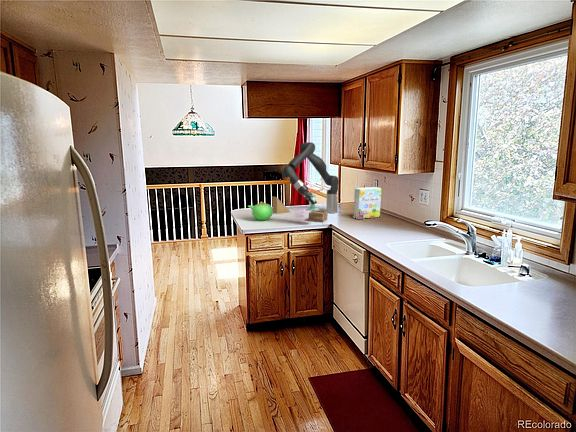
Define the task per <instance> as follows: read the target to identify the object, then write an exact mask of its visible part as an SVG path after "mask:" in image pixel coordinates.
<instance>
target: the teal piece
mask: <svg viewBox="0 0 576 432" xmlns="http://www.w3.org/2000/svg"><path fill="white" fill-rule="evenodd" d="M310 196H311V199H312V200H313V201H314V202H315V200H316V194H313V195H310ZM317 210H318V211H320V208H319V207H316V204H314V205H312V203H311V202H310V203H309V207H307V208H305V211H309V212H311V211H317Z"/></svg>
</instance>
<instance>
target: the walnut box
mask: <svg viewBox="0 0 576 432" xmlns="http://www.w3.org/2000/svg"><path fill="white" fill-rule="evenodd" d="M328 214H329V213H328V211H326V210H317V211H309V212H308V222H315V223H324V222H325V221H327V220H328Z"/></svg>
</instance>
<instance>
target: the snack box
mask: <svg viewBox="0 0 576 432" xmlns="http://www.w3.org/2000/svg"><path fill="white" fill-rule="evenodd" d="M382 189H383V188H381V187H377V186H371V187H355V188H354V198H353V201H354V202H353V216H352V217H353V219H355V218H356V219H355V220H357V219H362V220H364V219H363V218H370V217H379V216H381V205H382Z"/></svg>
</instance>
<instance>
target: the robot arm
mask: <svg viewBox="0 0 576 432" xmlns="http://www.w3.org/2000/svg"><path fill="white" fill-rule="evenodd" d="M299 147H300V149H299V150H300V153H299V154H297V155H296V156H294V157H293V158H292V159H291V160H290V161H289V163H288V164H287V165H285V166H284V167H283V169H282V171H281V175H282V177H283V178H286V179H287V178H288V179H289V182H290V183H291V185H292V186H293V187H294V189H295V190H296V191H297V192H298V194H299V195H302V198H304V199H305V200H306V201H307V202H311V203H312V205H314V204H315V205H316V204H317V203H318V202H317V200H316V199H315V202H314V201H313V200H312V199H311V196H310V195H314V194H313V193H312V192H309V191H308V190H309V188H308V186H307V185H306V184H305V183H304V182H303V181H302V180H301V179H300V178H299V176H297V173H296V171H295V170H296V169H297V168H298V167H299V166H300V164H302V162H303V161H304V160H306V159H307V160H309V163H311V165H312V166H313V167H314V169H315V170H316V171H317V173H318V174H319V175H320V176H321V178H322V180H323V182H324V183H325V184H326V185H327V186H330V187H329V188H330V189H327V190H326V208H325V209H326V210H325V211H328V214H337V213H338V209H339V207H338V206H339V205H338V204H339V202H338V191H339V182H340V181H339V176H337V175H330V173H328V171H327V165H326V162H325V161H324V160H323V158H321V157H320V156H319V155H317V154H315V151H316V145H315V143H314V142H311V141H310V142H303V143H301V144H300V146H299Z"/></svg>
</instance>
